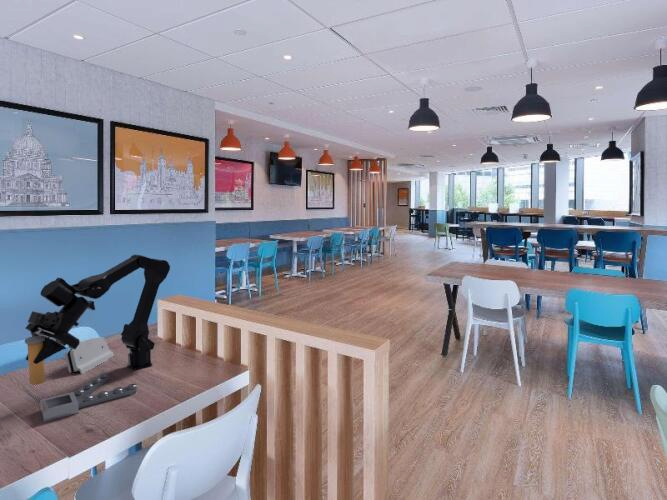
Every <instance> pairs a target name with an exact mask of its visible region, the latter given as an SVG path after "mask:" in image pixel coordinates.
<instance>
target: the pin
mask: <svg viewBox="0 0 667 500" xmlns="http://www.w3.org/2000/svg"><path fill="white" fill-rule="evenodd" d="M43 341H45V337H44V336H33V337H32V336H29V337H26V338H25V339H24V343H25V344H26V346H27V354H28V360H27V361H28V362H27V363H28V375H29V384H30V385H31V386H34V385H35V386H37V385H40V384H44V383H45V382H46V371H45V359H44V360H43V361H41V362H39V363H38V364H35V363H33V361H34V359H35V358H36V356H37V355H38V353H39V352H40V350H41V349H42V348H43Z"/></svg>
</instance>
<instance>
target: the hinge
mask: <svg viewBox="0 0 667 500" xmlns="http://www.w3.org/2000/svg"><path fill="white" fill-rule="evenodd" d="M113 356H115V354H114V352H113V350H110V347H109V346H108V343H107V341H106V340H105V338H104V337H102V336H101V337H100V336H99V337H90V338H87V339H85V340H81V341H80V344H79V345H78V347H77V348H76V349H72V348H70V347H69V349H67V351H65V353H64V357H65V362H66V366H67V370H68V373H69V374H71V373H73V372H74V373H75V372H79V373H80V375H83V374H86V373H87V372H89V371H90V370H92V369H94V368H96V367H98V366H99V364H100V365H102V364H103V362H104V363H105V362H107V361H109V360H110V359H109V358H111V357H113ZM113 358H114V357H113ZM108 359H109V360H108ZM111 359H112V358H111ZM101 363H102V364H101ZM97 365H98V366H97ZM95 366H96V367H95ZM88 370H89V371H88ZM86 371H87V372H86Z"/></svg>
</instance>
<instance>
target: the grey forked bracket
mask: <svg viewBox="0 0 667 500" xmlns="http://www.w3.org/2000/svg"><path fill="white" fill-rule="evenodd" d="M109 375H110V374H109V372H106V371H105V372H104V371H103V372H101V373H99V375H98V376H97V377H94V378H92V379H91V381H89V382H87V383H86V382H85V383H83V385H82V386H81V387H80V388H78V389H75V390H74V391H71V392H67V393H63V394H59V395H55V396H51V397H47V398H46V397H45V398H43V399H42V398H41V399H40V400H39V402H40V413H41V416H42V420H43V423H47V422H50V421H53V420H57V419H61V418H64V417H68V416H72V415H75V414H79V413H80V411H79V409H83V408H86V407H91V406H94V405H97V404H102V403H106V402H109V401H112V400H116V399H120V398H121V399H122V398H124V397H129V396H132V395H134V394H136V393H137V392H138V388H137V387H138V386H137V383H130V384H128V385H127V386H124V387H121V386H120V387H119V386H118V387H114V388H113V389H112V390H109V391H107V390H101V391H100V392H98V393H96V394H92V393H93V392H95V391H96V390H98V389H99V388H100V387H102V386H104V385H105V384H106V383H108V382H109V380H110V378H109V377H110V376H109Z"/></svg>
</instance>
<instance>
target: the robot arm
mask: <svg viewBox="0 0 667 500" xmlns="http://www.w3.org/2000/svg"><path fill="white" fill-rule="evenodd" d="M139 269H144V270H143V275H144V285H143V287H142V291H141V294H140V298H139V300H138V304H137V306H136V309H135V313H134V315H133V319H132V321H130V322H129V324H127V323H125V324H124V325H123V328H122V332H121V334H120V336H121V342H122V343H123V344H124V345H125V348H127V349H129V353H128V354H127V360H128V363H127V364H128V366H129V367H130V368H131V369H132V370H133V371H134V370H138V369H144V368H149V367H153V363H152V361H151V360H152V359H151V357H152V355H151V353H152V352H151V351H152V350H154V347H155V344H156V343H155V342H154V341H152V340H151V339H149V333H150V330H149V324H148V323H149V319H150V317H151V313H152V310H153V306H154V304H155V303H154V302H155V301H156V298H157V294H158V290H159V287H160V285H161V284H162V283H163V282H164V281H165V280H166V278H167V276H168V274H169V273H170V270H171V265H170V264H169V261H167V260H164V259H160V258H159V259H158V258H151V257H148V256H145V255H142V254H133V255H131V256H130V257H129V258H127V259H125V260H124V261H121V262H119V263H118V264H117V265H115V266H113V267H111V268H109V269H108V270H106V271H104V272H102V273H100V274H95V275H91V276H88V277H86V278H83V279H81V280H79V281H78V282H77V283H75V284H69V283H68V282H67V281H66V280H65V279H64V278H63V277H57V278H56V279H55V280H53V281H50V282H49V283H47V284H45V285H44V286H43V287H42V289H41V291H40V296H41V297H43V298H44V299H46V300H47V301H49V302H50V303H52V304H53V305H55V306H56V307H61V306H62V307H61V308H60V309H59V310H58V311H56V310H55V311H53V312H50V311H47V312H46V313H43V312H38V311H33V310H32V311H31V313H30V315H29V318H28V320H27V323H28V324H27V326H26V327H25V330H27V331H29V332H30V334H31V337H33V336H44V337H45V341H43V348H42V349H41V350H40V352H39V353H38V355H37V356H36V358H35V359H34V361H33V363H35V364H38V363H39V362H41V361H43V360H44V361H45V360H46V359H48V358H49V357H51V356H53V355H55V354H57V353H59V352H61V351H62V350H63V351H64V350H67V347H66V346H68V348H69V349H70V348H72V349H76V348H77V347H78V345H79V344H80V342H81V341H80V339H79V338H78V337H76V336H74V335H72V334H71V333H69V332H70V331H71V330H72V329H73V327H78V326H79V323H80V322H78V321H79V320H80V318H81V317H82V316H83V315H84V314H85V312H86V311H87V310H91V311H95V310H96V306H95V301H93V300H88V299H87V298H89V299H95V300H97V299H99V298H101V297H102V296H104V295H106V293H107V292H108V291H109V290H110V288H111V287H112V286H113V285H114V284H115V283H117V282H119V281H120V280H122V279H123V278H126V277H127V276H129V275H130V274H132V273H134V272H135V271H137V270H139ZM77 295H79V296H77ZM25 360H26V361H28V353H27V355H26V357H25Z"/></svg>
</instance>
